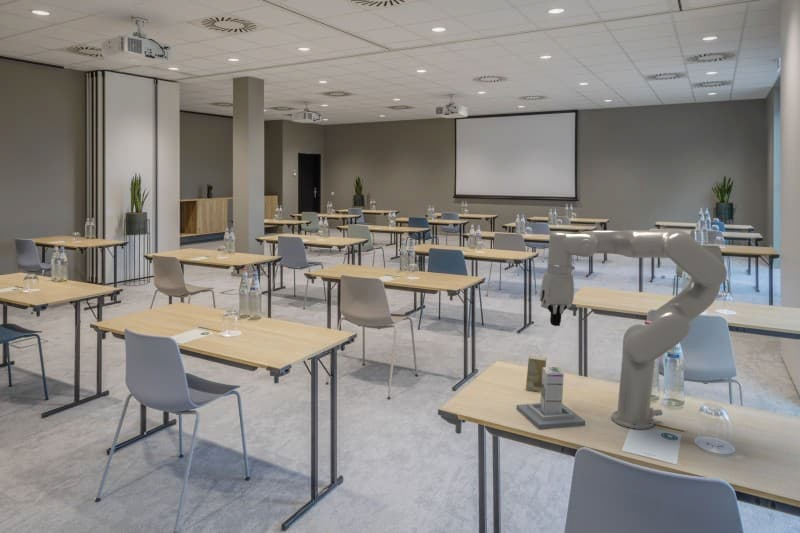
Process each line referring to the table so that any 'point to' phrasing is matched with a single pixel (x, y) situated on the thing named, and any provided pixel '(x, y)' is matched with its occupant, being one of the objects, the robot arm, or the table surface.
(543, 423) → the socket plate
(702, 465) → the table surface
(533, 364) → the skincare box
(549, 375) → the syrup box
